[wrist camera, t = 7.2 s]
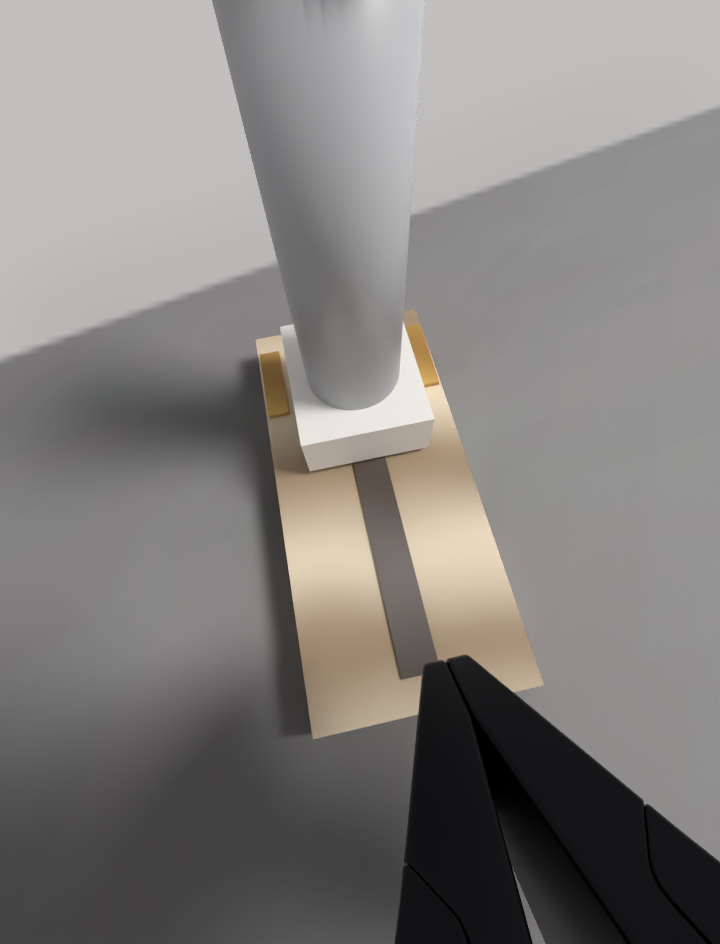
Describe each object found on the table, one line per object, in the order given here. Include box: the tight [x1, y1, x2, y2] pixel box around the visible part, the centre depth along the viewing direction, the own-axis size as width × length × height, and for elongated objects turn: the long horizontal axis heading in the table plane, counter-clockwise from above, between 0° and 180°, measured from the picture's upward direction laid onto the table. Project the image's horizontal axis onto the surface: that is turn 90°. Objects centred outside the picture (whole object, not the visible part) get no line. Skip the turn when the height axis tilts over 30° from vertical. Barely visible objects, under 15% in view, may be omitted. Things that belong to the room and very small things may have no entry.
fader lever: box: [212, 0, 435, 471], centre depth 10 cm, size 5×4×15 cm
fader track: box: [256, 309, 544, 739], centre depth 17 cm, size 15×7×2 cm, turn 12°
